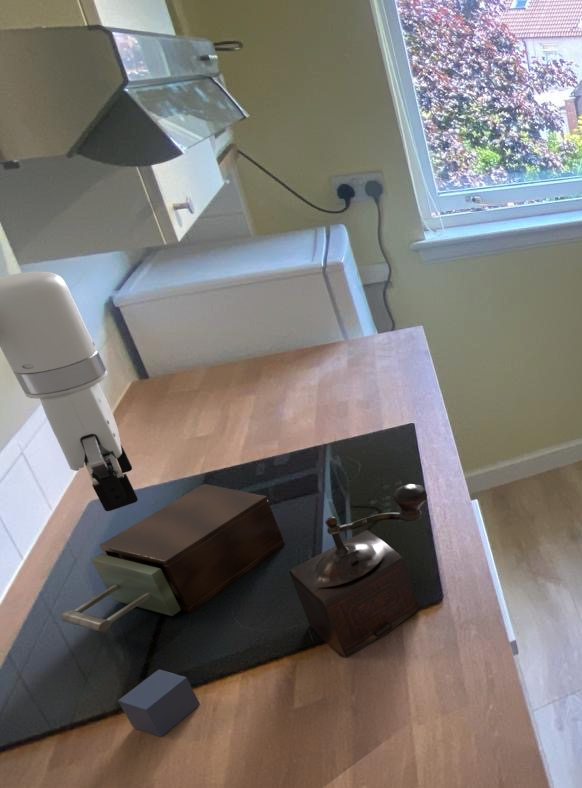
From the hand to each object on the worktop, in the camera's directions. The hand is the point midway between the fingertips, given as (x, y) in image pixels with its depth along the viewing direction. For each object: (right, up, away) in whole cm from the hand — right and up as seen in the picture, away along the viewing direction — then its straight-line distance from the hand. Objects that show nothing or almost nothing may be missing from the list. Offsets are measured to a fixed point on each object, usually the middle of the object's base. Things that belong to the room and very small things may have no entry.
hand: (119, 489), depth 96 cm
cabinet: (+1, -14, +13) cm, 19 cm away
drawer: (0, -16, +8) cm, 18 cm away
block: (+15, -25, -10) cm, 30 cm away
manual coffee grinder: (+32, -17, +5) cm, 37 cm away
